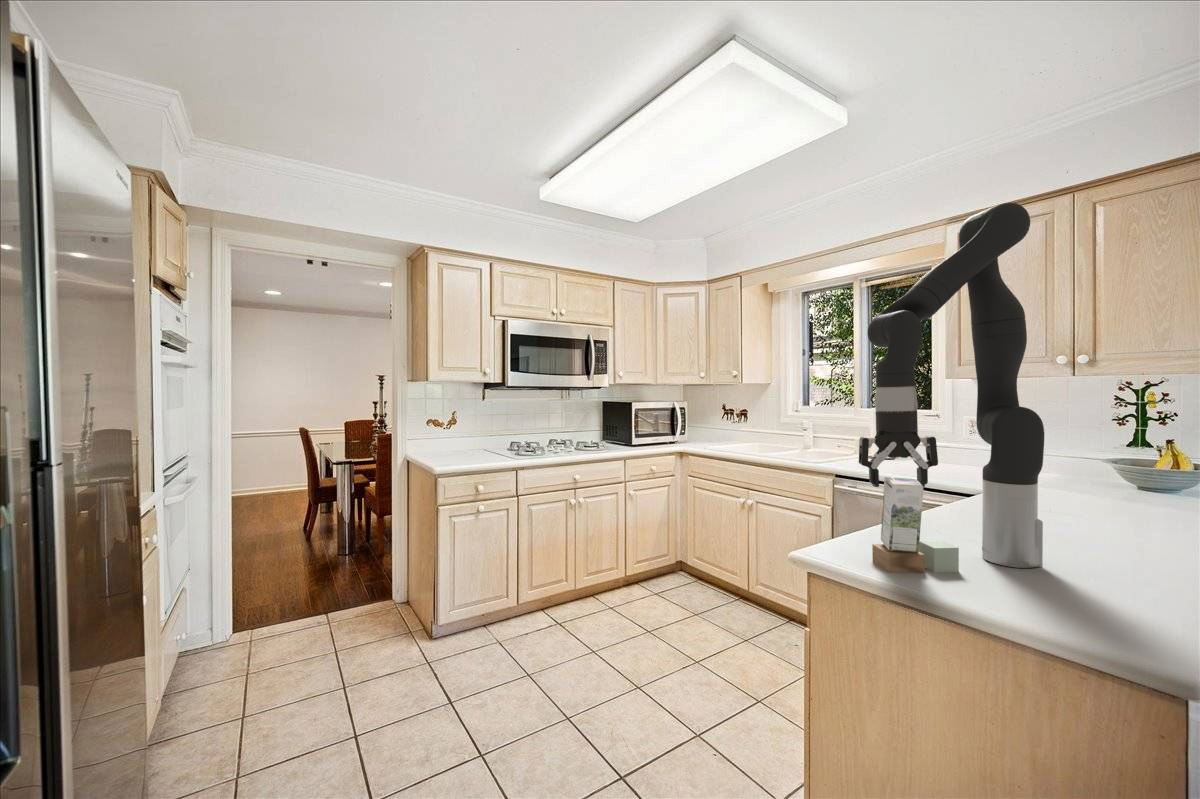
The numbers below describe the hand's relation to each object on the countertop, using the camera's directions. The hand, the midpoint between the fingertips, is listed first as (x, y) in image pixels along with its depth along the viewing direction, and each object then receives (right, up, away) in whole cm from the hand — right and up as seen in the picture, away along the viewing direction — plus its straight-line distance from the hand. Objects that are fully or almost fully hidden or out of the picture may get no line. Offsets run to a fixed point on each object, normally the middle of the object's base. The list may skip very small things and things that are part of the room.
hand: (898, 486), depth 107 cm
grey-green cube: (+8, -17, 0) cm, 19 cm away
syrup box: (+1, -13, +1) cm, 13 cm away
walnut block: (0, -17, +1) cm, 17 cm away
